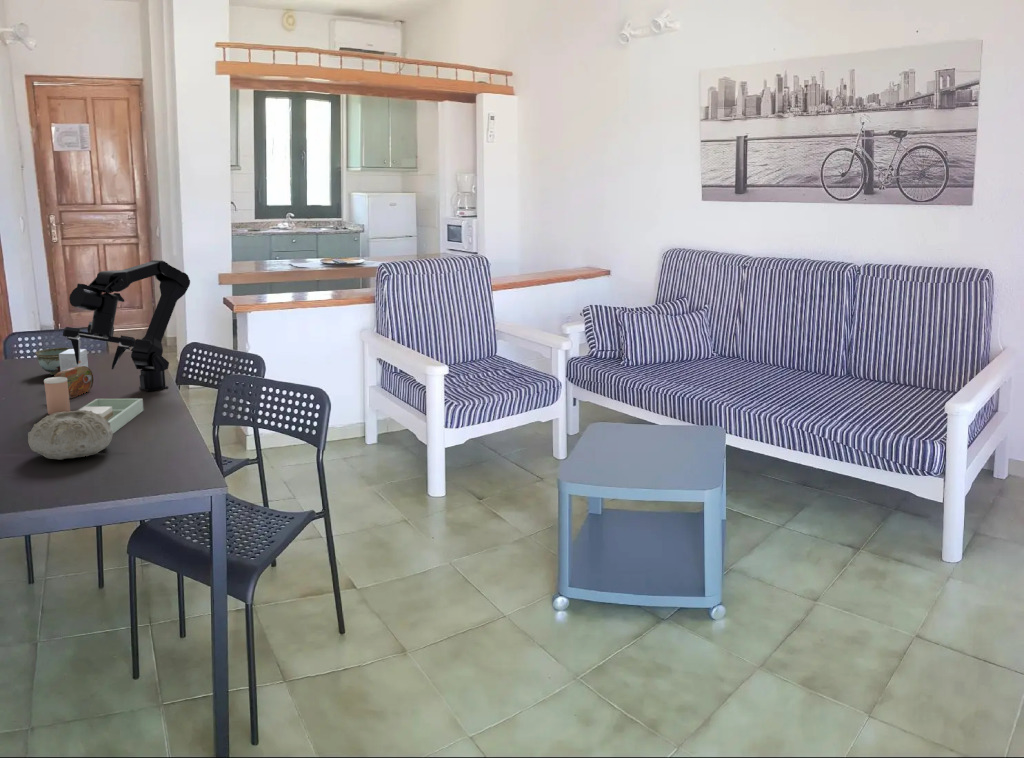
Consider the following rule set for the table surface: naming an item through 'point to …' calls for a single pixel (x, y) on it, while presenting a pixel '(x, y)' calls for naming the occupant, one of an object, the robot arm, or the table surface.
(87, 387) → the tin
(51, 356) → the bowl
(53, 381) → the canister
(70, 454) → the grey rounded lump
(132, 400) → the tote
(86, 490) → the table surface
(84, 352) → the small box
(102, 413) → the block
